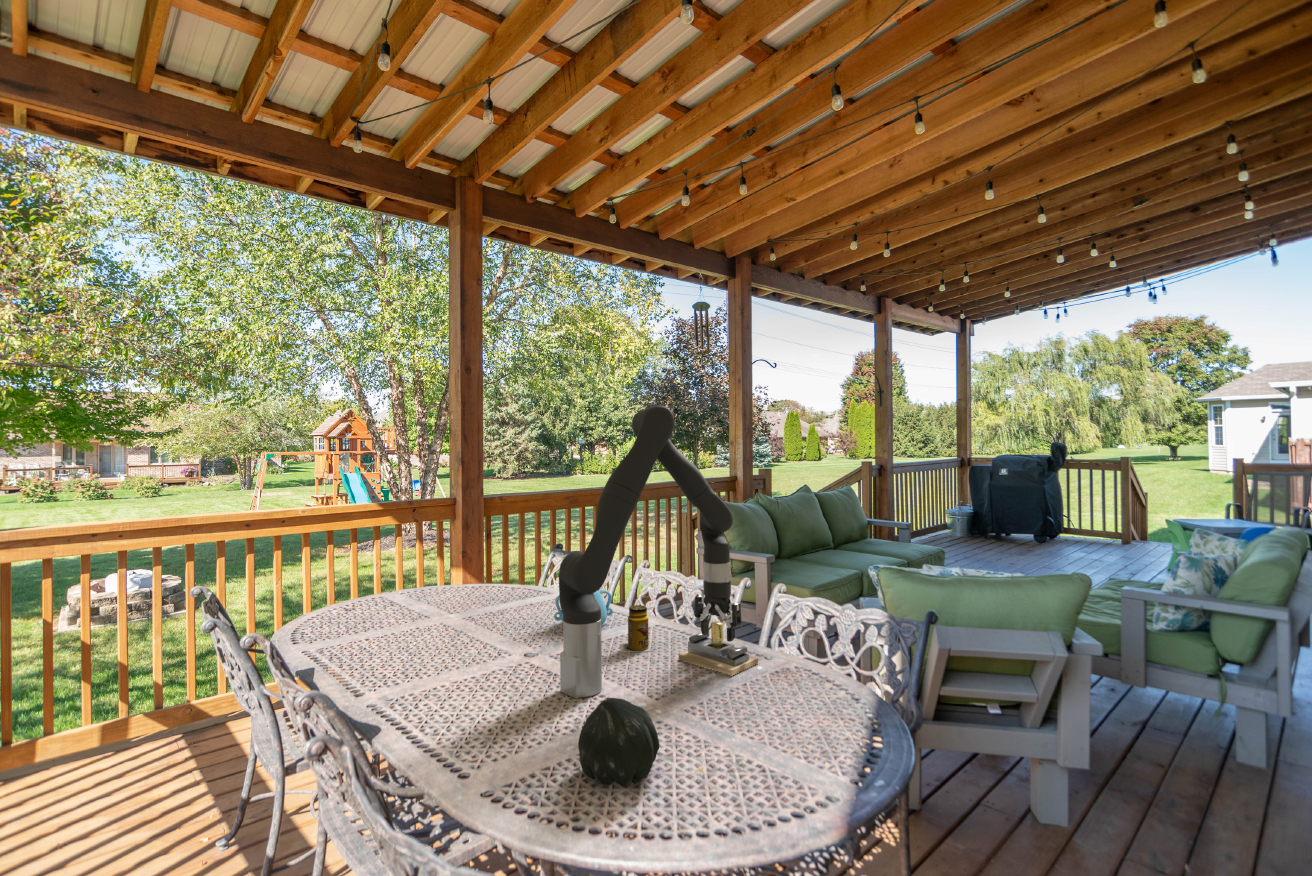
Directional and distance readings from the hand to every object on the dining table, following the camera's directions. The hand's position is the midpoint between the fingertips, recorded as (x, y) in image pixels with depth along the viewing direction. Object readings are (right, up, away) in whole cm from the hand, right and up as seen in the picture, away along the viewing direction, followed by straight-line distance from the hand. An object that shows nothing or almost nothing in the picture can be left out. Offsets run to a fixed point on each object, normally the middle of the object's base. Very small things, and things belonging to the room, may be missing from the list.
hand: (717, 637), depth 166 cm
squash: (-24, -7, -56) cm, 61 cm away
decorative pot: (-41, -8, +34) cm, 54 cm away
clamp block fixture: (0, -7, 0) cm, 7 cm away
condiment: (-23, -7, +12) cm, 27 cm away
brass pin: (0, -5, 0) cm, 5 cm away
